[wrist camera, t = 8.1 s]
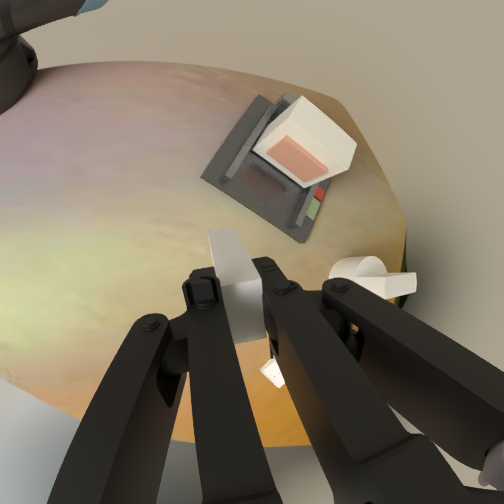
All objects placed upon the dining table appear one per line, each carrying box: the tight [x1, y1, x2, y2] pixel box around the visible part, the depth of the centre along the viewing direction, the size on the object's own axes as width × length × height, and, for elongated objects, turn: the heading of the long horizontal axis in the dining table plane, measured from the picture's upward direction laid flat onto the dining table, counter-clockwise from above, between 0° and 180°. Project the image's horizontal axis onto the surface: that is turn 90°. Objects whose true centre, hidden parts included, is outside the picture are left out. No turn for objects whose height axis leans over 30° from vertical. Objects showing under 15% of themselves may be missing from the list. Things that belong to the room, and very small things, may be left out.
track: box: [201, 91, 331, 243], centre depth 38 cm, size 18×18×6 cm
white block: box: [252, 96, 357, 188], centre depth 35 cm, size 10×6×10 cm, turn 62°
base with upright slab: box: [328, 256, 417, 299], centre depth 40 cm, size 9×9×12 cm
